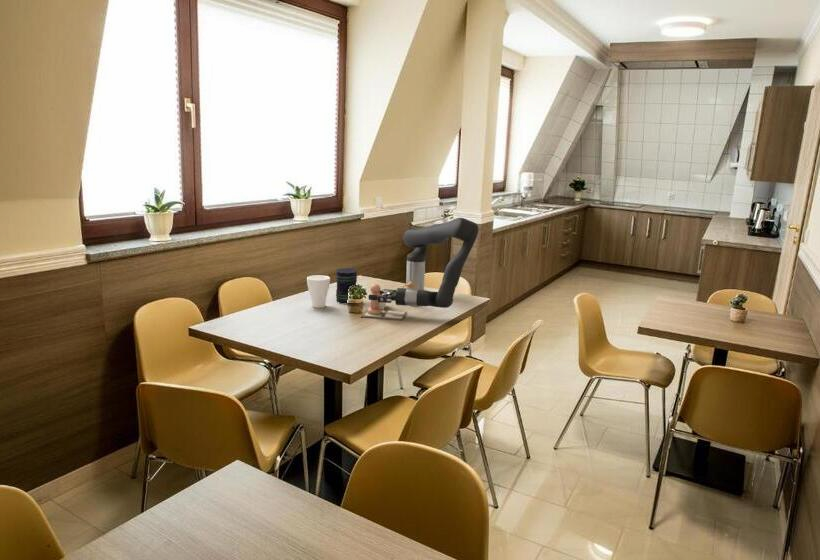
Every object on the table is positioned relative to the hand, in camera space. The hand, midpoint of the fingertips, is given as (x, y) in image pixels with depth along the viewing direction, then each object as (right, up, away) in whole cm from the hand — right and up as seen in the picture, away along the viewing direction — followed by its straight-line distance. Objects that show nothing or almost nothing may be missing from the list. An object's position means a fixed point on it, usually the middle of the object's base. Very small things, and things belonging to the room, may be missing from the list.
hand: (370, 294), depth 261 cm
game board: (+6, -9, +1) cm, 11 cm away
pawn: (+2, -8, +2) cm, 8 cm away
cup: (-25, -6, +13) cm, 29 cm away
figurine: (+17, -6, +18) cm, 26 cm away
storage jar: (-13, -4, +23) cm, 27 cm away
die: (+2, -6, +13) cm, 15 cm away
